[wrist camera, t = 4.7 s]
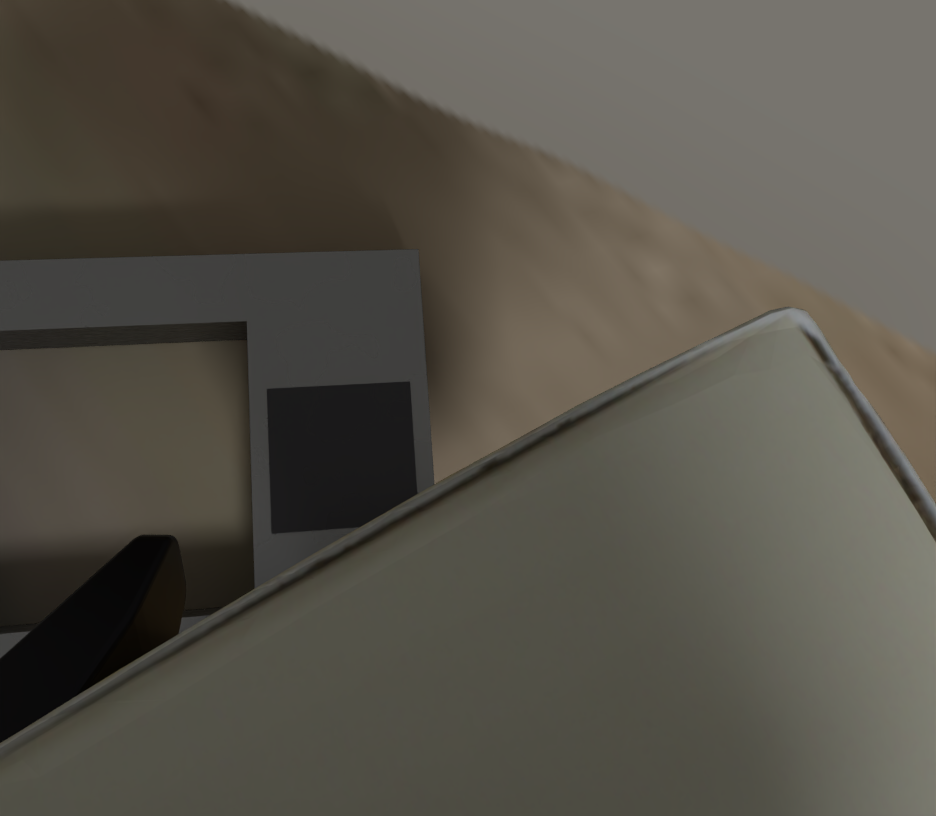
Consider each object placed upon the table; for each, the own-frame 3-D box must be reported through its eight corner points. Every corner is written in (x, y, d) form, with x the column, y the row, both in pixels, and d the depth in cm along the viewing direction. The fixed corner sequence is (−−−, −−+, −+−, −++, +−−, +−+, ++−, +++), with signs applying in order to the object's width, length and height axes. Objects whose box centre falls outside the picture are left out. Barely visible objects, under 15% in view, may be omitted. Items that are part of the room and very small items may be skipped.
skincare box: (504, 458, 17) (843, 251, 5) (599, 627, 16) (1233, 864, 4) (247, 602, 15) (-180, 812, 3) (343, 789, 15) (238, 1770, 3)
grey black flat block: (440, 656, 21) (447, 670, 19) (-403, 741, 19) (-501, 768, 17) (415, 272, 23) (418, 247, 21) (-357, 297, 20) (-440, 271, 18)
